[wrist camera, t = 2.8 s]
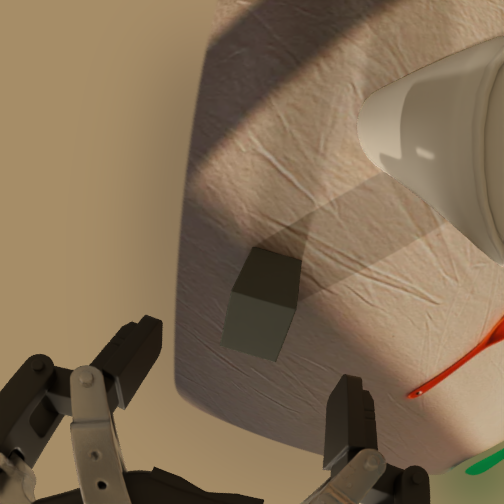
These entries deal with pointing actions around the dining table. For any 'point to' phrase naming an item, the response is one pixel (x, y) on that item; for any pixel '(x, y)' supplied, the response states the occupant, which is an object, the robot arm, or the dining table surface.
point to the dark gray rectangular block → (262, 304)
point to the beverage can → (447, 139)
